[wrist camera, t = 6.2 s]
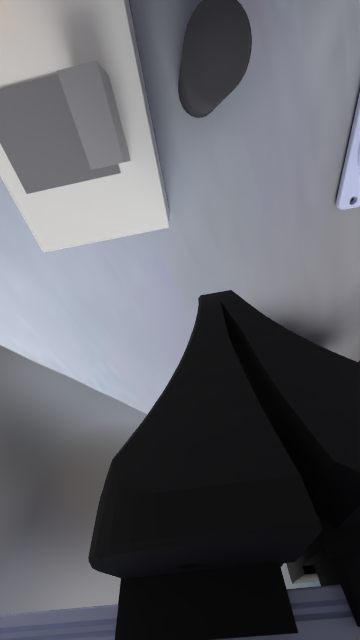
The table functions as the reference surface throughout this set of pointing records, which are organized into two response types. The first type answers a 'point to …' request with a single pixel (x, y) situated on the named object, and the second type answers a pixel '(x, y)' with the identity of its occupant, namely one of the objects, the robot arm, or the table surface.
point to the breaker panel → (77, 123)
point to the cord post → (213, 55)
